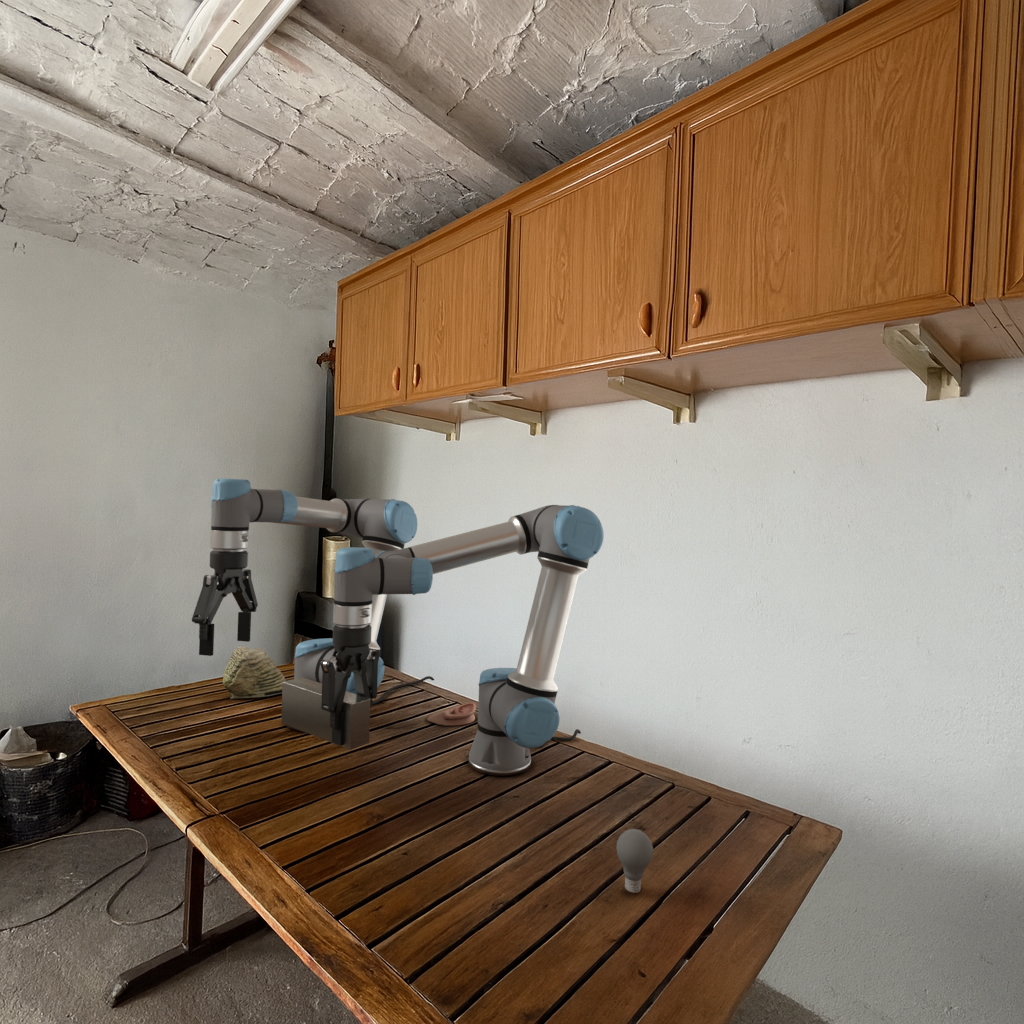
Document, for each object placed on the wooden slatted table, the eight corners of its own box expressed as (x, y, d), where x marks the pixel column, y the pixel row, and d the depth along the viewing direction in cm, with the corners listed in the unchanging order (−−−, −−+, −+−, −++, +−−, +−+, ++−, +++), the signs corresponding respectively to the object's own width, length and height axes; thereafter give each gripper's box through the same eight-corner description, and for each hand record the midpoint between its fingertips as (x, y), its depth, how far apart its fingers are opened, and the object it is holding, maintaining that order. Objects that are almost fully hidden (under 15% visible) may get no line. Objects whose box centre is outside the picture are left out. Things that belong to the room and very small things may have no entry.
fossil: (218, 695, 195) (220, 647, 195) (278, 685, 208) (279, 640, 207) (228, 703, 189) (230, 653, 188) (289, 692, 201) (290, 645, 201)
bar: (281, 723, 137) (282, 681, 137) (300, 717, 141) (301, 677, 141) (350, 750, 124) (351, 704, 124) (369, 742, 128) (370, 698, 128)
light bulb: (610, 879, 108) (613, 822, 108) (644, 879, 109) (647, 822, 109) (619, 902, 102) (622, 840, 102) (655, 901, 103) (658, 840, 103)
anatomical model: (423, 709, 179) (436, 697, 190) (423, 723, 179) (436, 710, 190) (469, 714, 176) (479, 702, 188) (468, 728, 177) (478, 715, 188)
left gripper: (209, 555, 124) (205, 663, 124) (275, 547, 149) (272, 637, 149) (174, 553, 125) (170, 660, 125) (245, 545, 150) (242, 634, 150)
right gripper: (327, 634, 118) (324, 758, 118) (398, 621, 132) (394, 731, 133) (302, 628, 122) (299, 747, 123) (373, 616, 137) (370, 723, 137)
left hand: (225, 647), depth 137 cm, fingers open, 13 cm apart
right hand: (348, 739), depth 128 cm, fingers closed on bar, 5 cm apart
